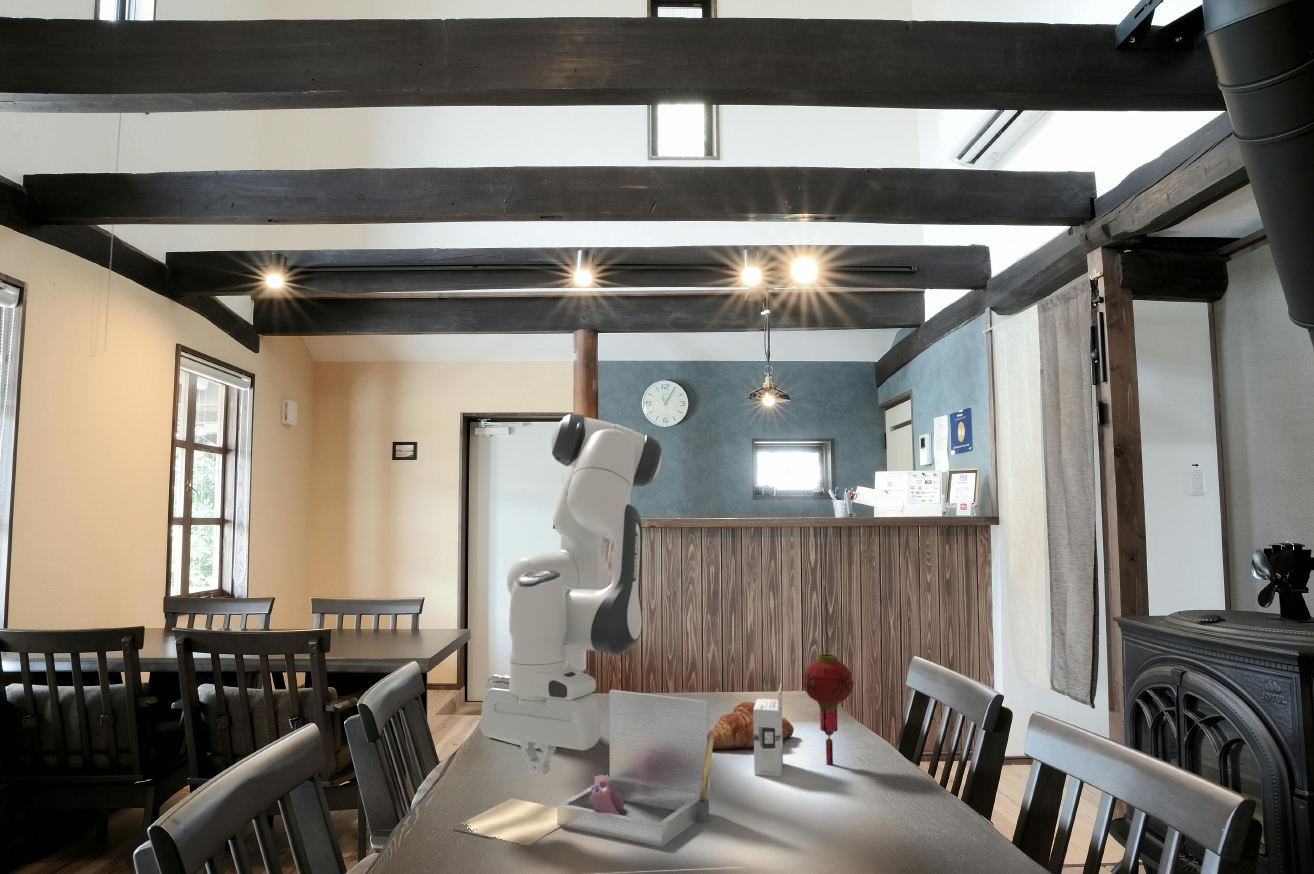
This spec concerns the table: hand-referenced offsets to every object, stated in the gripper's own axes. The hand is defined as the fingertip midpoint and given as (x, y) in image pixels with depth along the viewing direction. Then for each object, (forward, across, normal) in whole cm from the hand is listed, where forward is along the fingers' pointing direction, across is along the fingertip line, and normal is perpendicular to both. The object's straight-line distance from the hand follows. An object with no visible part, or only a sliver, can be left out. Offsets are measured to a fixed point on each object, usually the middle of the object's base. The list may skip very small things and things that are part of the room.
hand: (538, 771), depth 126 cm
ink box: (+9, +21, +43) cm, 48 cm away
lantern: (+9, +30, +51) cm, 59 cm away
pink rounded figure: (+9, +8, +7) cm, 14 cm away
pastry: (+9, +11, +57) cm, 59 cm away
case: (+8, +12, +9) cm, 17 cm away
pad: (+8, -4, 0) cm, 9 cm away
